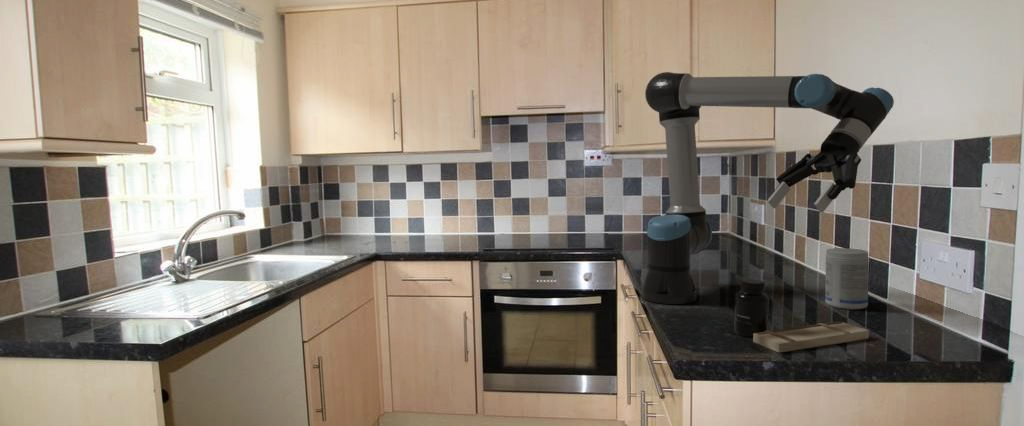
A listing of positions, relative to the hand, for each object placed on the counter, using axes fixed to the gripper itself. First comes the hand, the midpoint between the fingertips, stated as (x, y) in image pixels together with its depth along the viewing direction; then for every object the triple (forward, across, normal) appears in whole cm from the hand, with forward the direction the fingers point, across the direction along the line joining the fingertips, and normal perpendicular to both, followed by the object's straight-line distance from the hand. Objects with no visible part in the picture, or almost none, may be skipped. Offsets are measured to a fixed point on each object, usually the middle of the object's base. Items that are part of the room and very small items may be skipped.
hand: (793, 206), depth 122 cm
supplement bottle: (+30, -4, -9) cm, 32 cm away
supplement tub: (+2, +6, -37) cm, 37 cm away
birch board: (+24, -12, -15) cm, 31 cm away
